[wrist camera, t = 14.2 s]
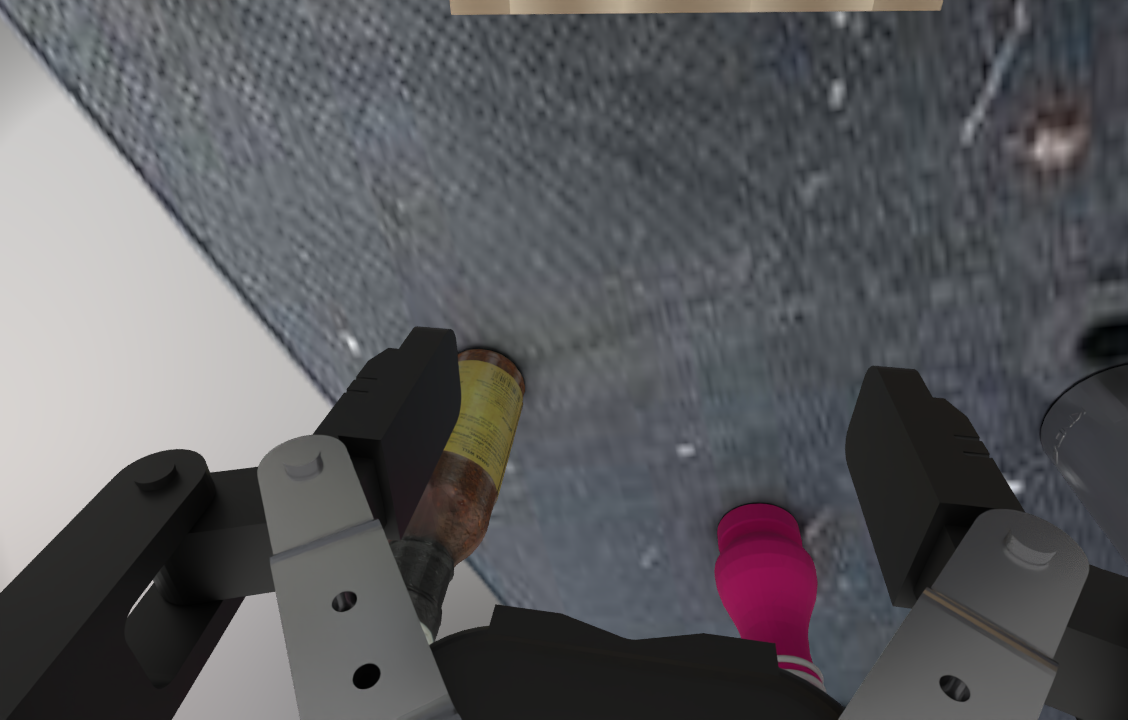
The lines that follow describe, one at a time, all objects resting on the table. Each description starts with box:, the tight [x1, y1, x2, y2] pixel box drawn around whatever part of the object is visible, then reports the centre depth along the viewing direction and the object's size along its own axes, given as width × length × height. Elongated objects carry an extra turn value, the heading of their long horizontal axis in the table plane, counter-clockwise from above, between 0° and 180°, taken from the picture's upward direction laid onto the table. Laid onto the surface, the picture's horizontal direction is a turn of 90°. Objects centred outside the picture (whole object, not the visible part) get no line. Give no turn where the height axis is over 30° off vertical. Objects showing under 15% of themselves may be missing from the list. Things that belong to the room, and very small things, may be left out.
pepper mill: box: [715, 503, 826, 693], centre depth 43 cm, size 7×7×20 cm
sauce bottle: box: [387, 349, 525, 645], centre depth 38 cm, size 7×6×20 cm
